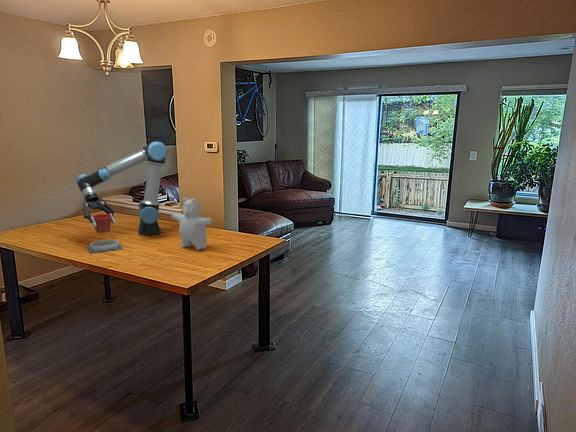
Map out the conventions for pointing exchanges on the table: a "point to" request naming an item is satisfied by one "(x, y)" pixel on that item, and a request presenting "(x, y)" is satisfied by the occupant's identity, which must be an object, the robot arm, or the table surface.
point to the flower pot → (102, 223)
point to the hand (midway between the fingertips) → (104, 224)
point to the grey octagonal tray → (104, 246)
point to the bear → (192, 225)
